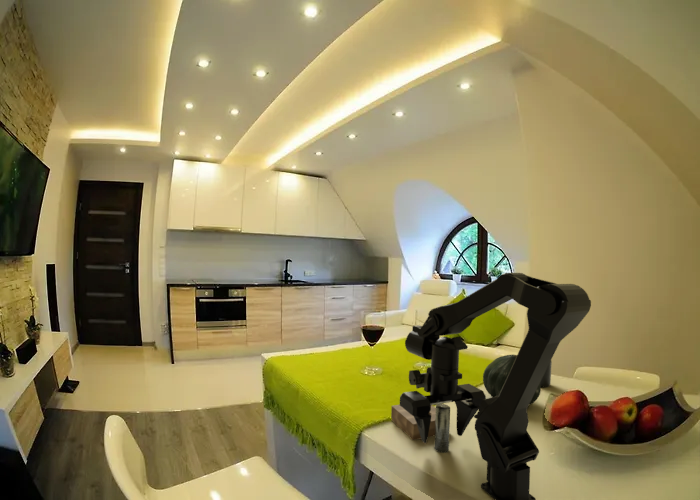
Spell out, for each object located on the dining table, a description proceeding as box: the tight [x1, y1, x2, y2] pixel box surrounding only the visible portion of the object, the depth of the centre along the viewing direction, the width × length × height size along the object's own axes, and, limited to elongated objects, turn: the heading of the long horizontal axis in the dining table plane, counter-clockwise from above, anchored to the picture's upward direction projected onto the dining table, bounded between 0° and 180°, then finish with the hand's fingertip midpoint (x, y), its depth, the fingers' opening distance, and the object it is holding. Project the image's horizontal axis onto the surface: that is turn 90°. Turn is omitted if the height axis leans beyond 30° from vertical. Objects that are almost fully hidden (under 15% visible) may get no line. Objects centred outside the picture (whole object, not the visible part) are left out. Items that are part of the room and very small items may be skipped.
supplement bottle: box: [540, 360, 552, 388], centre depth 118 cm, size 7×7×12 cm
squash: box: [482, 354, 542, 406], centre depth 102 cm, size 14×15×15 cm
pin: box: [433, 403, 451, 454], centre depth 76 cm, size 3×3×9 cm
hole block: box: [390, 404, 436, 441], centre depth 86 cm, size 10×10×4 cm
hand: (442, 438), depth 76 cm, fingers open, 9 cm apart
